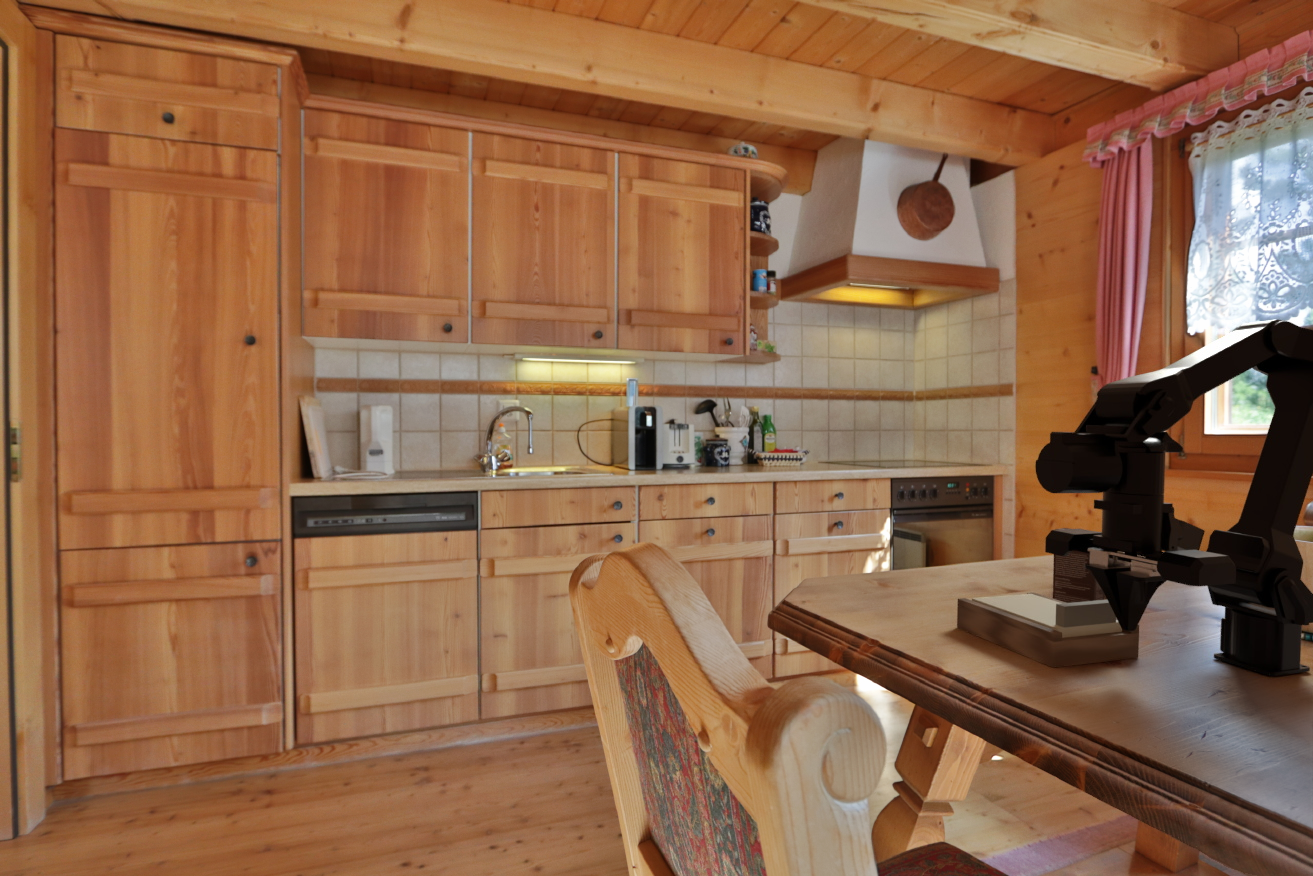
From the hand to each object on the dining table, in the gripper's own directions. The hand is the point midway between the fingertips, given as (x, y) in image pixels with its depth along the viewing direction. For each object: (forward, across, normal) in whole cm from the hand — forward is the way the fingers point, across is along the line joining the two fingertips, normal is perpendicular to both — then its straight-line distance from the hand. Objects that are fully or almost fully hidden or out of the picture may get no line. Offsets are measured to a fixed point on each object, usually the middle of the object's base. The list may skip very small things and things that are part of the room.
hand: (1128, 630), depth 80 cm
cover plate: (+2, +12, 0) cm, 12 cm away
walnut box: (+5, +12, 0) cm, 13 cm away
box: (+5, +23, -18) cm, 30 cm away
